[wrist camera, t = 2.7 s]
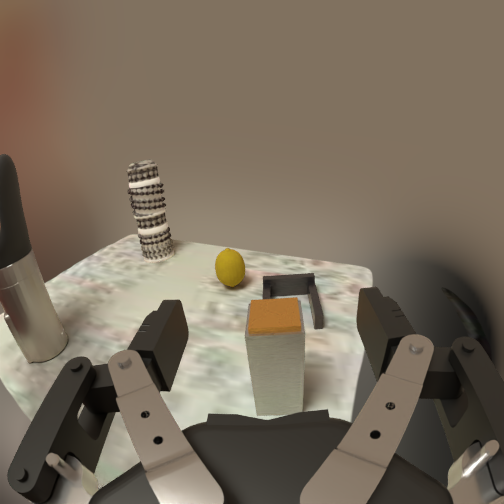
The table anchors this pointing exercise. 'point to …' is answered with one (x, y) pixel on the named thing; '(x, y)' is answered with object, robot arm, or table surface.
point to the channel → (295, 291)
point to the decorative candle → (149, 211)
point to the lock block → (276, 355)
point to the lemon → (230, 267)
